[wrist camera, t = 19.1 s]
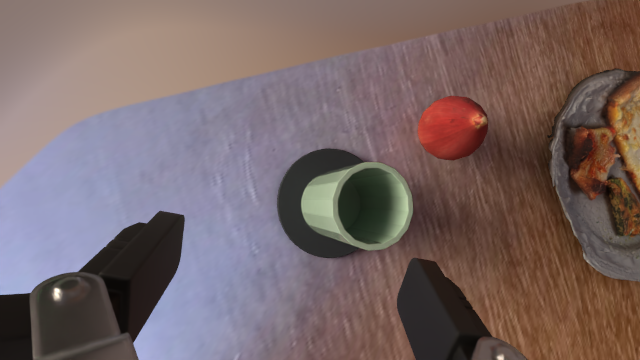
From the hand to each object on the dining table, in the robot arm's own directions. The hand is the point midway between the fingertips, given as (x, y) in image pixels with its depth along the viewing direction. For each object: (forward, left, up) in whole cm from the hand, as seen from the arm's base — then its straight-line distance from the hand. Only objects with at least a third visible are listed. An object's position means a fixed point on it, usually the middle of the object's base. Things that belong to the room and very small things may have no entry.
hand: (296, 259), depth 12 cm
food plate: (+44, +3, -18) cm, 48 cm away
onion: (+18, +8, -19) cm, 27 cm away
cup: (+7, +1, -18) cm, 19 cm away
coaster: (+7, +1, -18) cm, 20 cm away
